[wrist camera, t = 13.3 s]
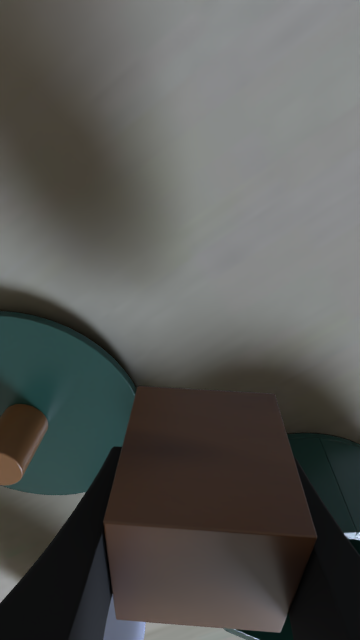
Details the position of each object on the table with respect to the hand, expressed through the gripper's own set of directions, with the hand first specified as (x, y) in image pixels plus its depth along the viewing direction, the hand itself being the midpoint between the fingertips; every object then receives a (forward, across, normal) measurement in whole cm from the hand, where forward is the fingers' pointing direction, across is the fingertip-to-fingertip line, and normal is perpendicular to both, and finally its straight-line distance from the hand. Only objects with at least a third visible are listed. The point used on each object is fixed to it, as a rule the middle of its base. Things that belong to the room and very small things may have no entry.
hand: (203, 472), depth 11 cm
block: (+1, 0, 0) cm, 1 cm away
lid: (+7, +10, +5) cm, 13 cm away
